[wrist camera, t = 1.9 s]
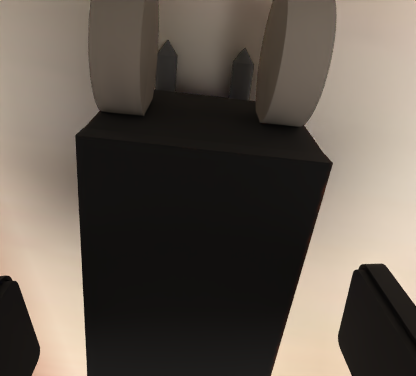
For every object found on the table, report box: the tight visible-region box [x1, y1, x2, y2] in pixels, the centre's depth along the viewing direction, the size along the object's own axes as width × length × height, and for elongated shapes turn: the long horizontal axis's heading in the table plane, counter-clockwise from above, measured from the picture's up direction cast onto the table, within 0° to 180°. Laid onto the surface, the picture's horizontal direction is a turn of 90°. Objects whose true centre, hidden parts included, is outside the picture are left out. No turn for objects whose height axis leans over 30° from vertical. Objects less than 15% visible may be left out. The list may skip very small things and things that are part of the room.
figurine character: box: [75, 0, 336, 376], centre depth 13 cm, size 7×8×15 cm
